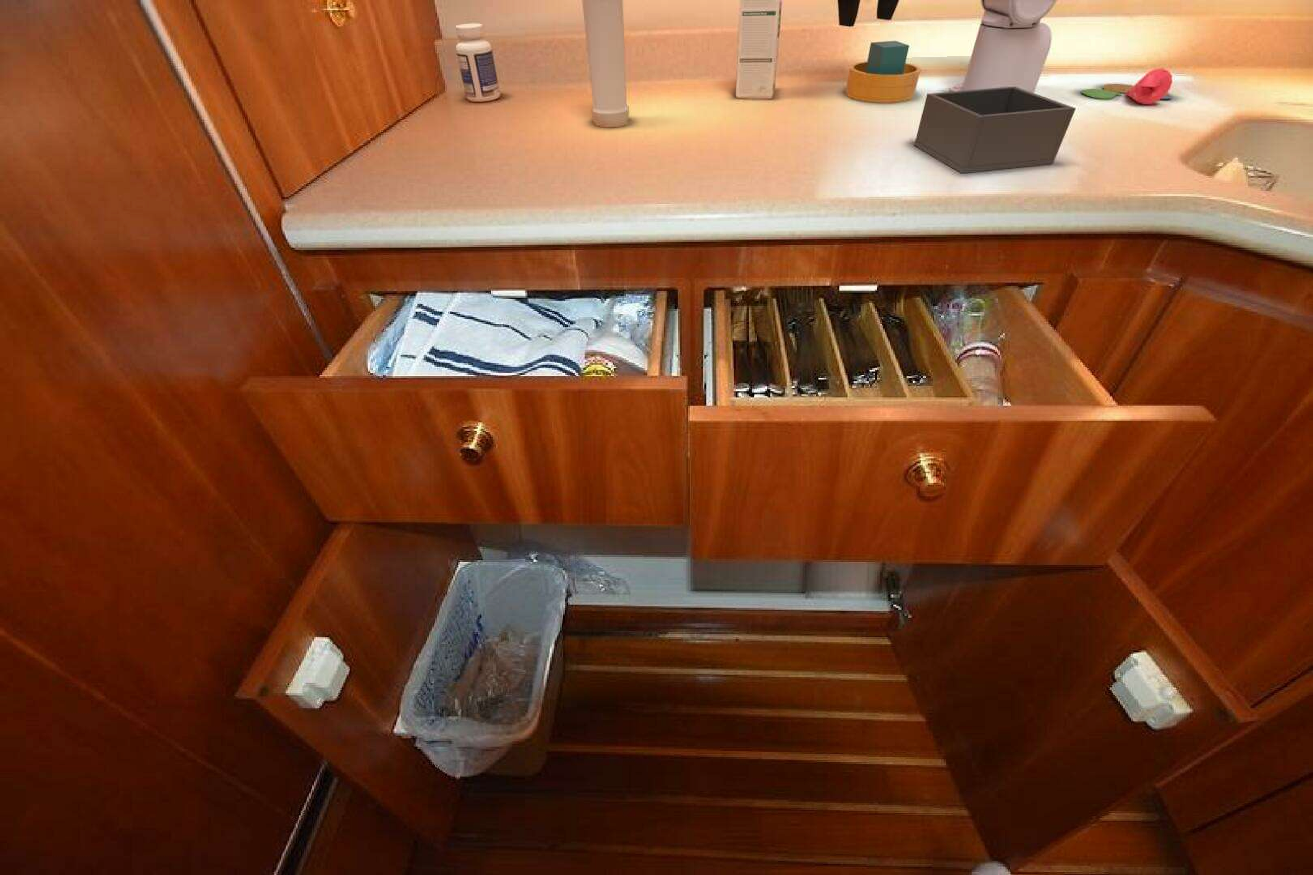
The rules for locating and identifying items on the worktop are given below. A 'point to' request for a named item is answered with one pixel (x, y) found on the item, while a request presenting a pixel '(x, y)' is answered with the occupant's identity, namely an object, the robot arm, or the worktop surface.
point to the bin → (992, 128)
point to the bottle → (606, 61)
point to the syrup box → (757, 48)
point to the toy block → (887, 58)
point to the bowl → (882, 84)
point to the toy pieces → (1138, 88)
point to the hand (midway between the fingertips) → (865, 22)
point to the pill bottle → (476, 64)
